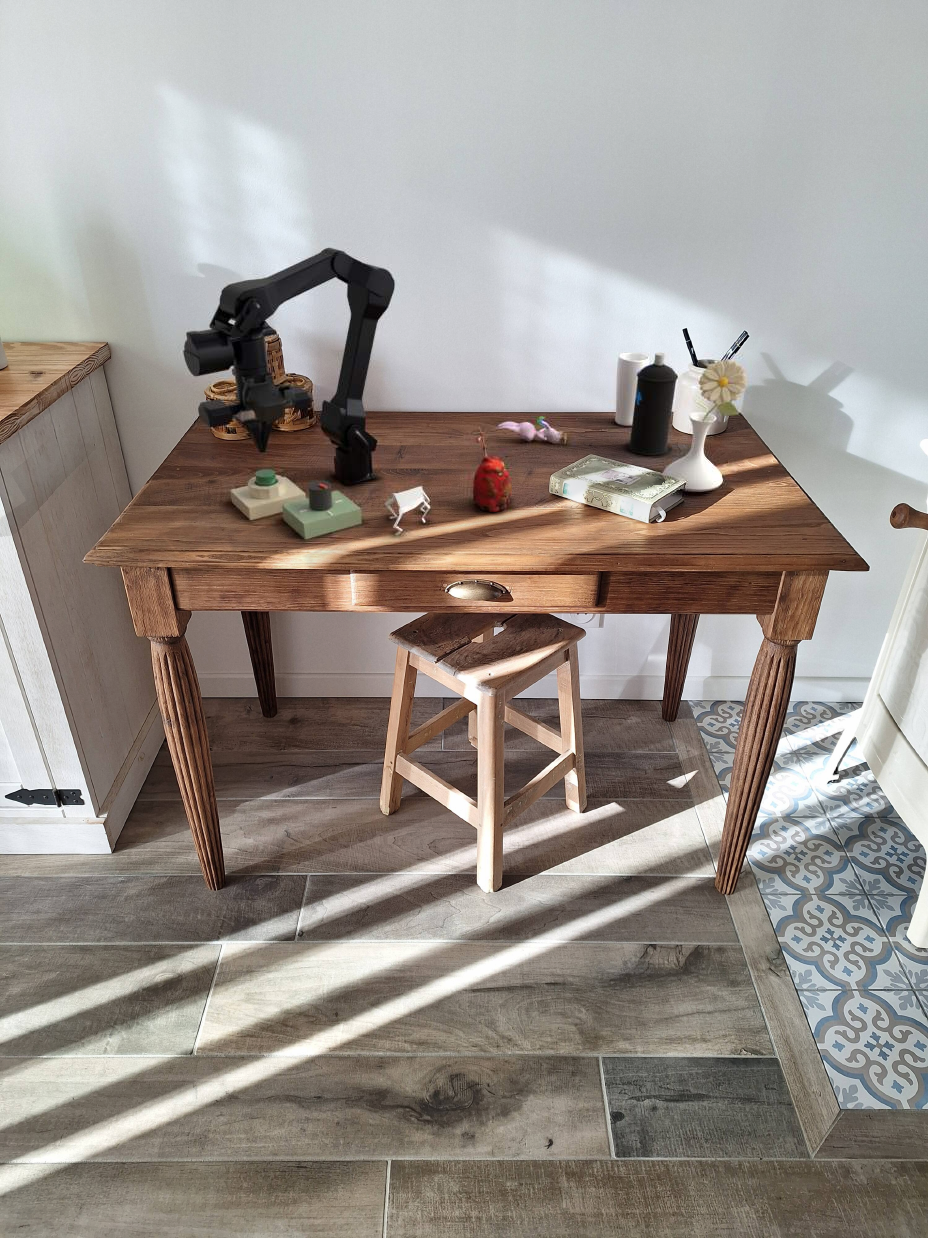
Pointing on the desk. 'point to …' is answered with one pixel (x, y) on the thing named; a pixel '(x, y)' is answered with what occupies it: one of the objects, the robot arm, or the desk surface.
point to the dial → (320, 495)
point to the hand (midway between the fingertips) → (262, 452)
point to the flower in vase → (721, 388)
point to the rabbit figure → (534, 431)
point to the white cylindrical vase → (627, 385)
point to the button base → (265, 497)
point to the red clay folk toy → (491, 483)
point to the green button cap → (265, 477)
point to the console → (321, 516)
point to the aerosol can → (653, 408)
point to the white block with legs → (408, 503)
